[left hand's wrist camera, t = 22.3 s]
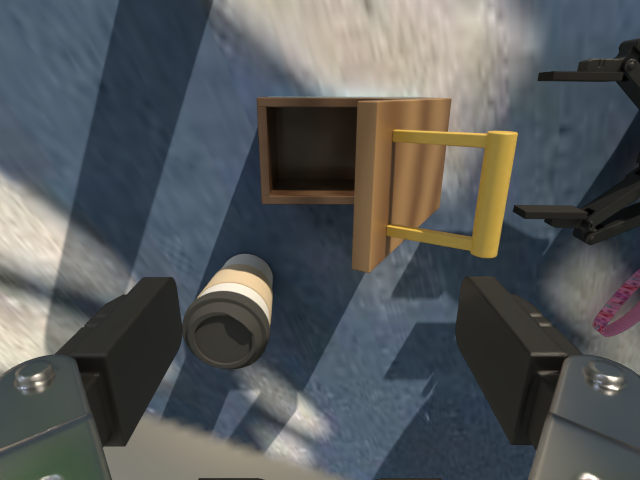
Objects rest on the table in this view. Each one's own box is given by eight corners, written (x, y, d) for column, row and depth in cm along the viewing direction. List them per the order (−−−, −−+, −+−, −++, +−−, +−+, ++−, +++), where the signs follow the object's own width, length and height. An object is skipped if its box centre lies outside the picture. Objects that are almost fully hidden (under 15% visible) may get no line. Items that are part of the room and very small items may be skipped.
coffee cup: (250, 318, 55) (227, 395, 41) (199, 277, 53) (156, 344, 39) (295, 276, 53) (286, 342, 39) (243, 232, 51) (214, 285, 37)
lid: (351, 269, 25) (485, 300, 22) (357, 100, 22) (518, 103, 18) (426, 205, 40) (515, 217, 36) (437, 98, 36) (537, 99, 33)
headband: (609, 335, 56) (619, 344, 54) (587, 324, 56) (597, 332, 54) (665, 273, 53) (679, 281, 51) (642, 261, 52) (655, 267, 50)
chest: (272, 184, 49) (261, 204, 40) (268, 96, 45) (256, 97, 37) (411, 185, 49) (431, 205, 40) (419, 97, 45) (442, 98, 37)
